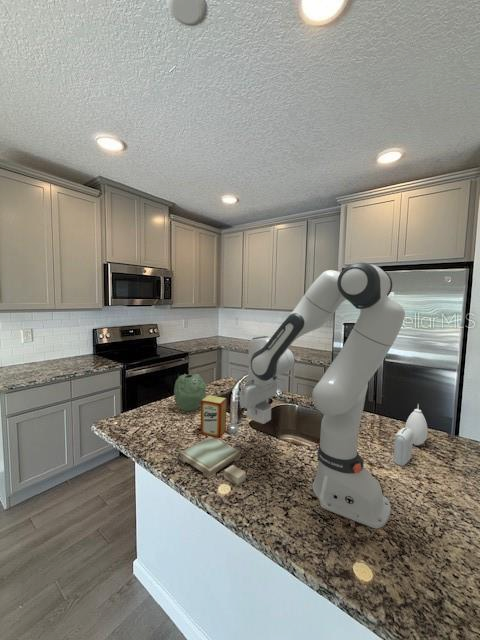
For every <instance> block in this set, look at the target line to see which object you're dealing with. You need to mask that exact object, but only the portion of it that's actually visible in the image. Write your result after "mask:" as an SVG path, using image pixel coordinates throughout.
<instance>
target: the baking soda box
mask: <svg viewBox="0 0 480 640" xmlns="http://www.w3.org/2000/svg"><path fill="white" fill-rule="evenodd" d="M227 401H228V400H227V398H226V397H220V396H217V395H210V394H209V395H208V394H207V395H205V398H203V399H202V400H201V406H200V435H201V436H202V435H203V436H205V437H210V436H211V437H213V438H215V439H221V438H222V437H223V436H224V434H225V433H227Z"/></svg>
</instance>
